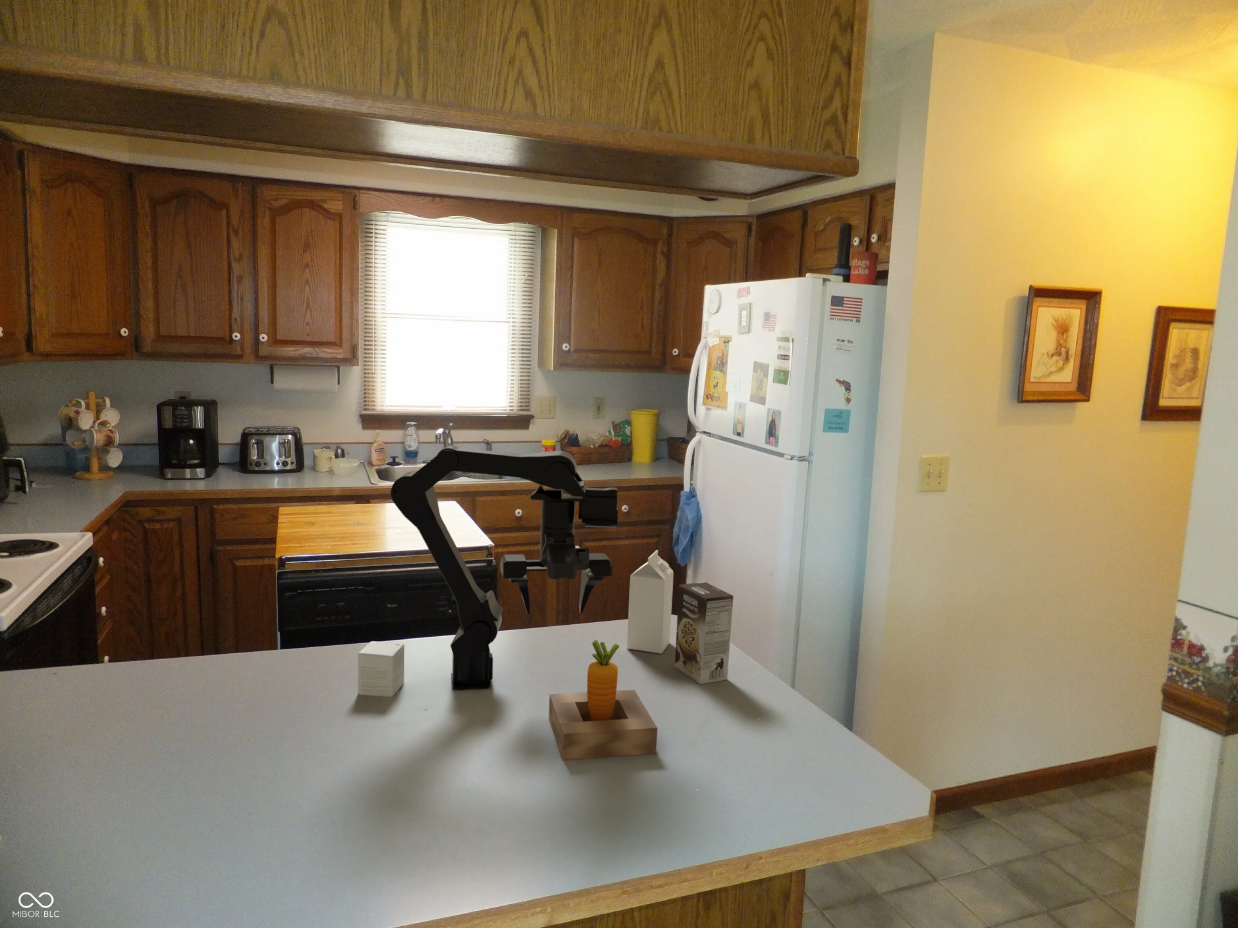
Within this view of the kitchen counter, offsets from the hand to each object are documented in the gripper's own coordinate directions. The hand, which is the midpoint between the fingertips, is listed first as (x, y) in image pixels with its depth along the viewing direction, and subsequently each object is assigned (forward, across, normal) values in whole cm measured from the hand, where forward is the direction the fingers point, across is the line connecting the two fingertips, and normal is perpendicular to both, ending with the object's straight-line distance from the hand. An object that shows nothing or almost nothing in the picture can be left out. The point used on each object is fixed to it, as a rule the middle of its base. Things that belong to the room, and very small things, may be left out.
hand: (554, 613), depth 148 cm
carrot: (+13, +4, -20) cm, 24 cm away
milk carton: (+13, +22, +17) cm, 31 cm away
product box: (+13, -29, +2) cm, 32 cm away
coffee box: (+13, +28, +2) cm, 31 cm away
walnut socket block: (+13, +4, -20) cm, 24 cm away
